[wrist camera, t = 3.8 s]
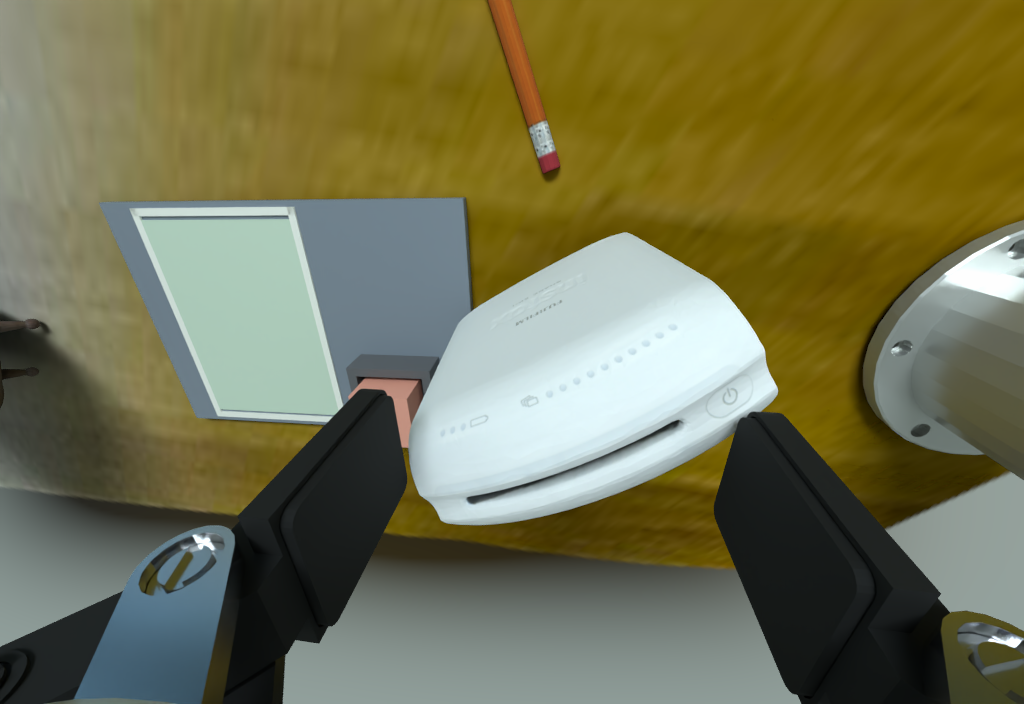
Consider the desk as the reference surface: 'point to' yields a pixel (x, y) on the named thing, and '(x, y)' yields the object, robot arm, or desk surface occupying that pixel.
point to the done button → (398, 399)
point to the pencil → (524, 82)
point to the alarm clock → (10, 373)
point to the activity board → (297, 296)
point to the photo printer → (583, 386)
